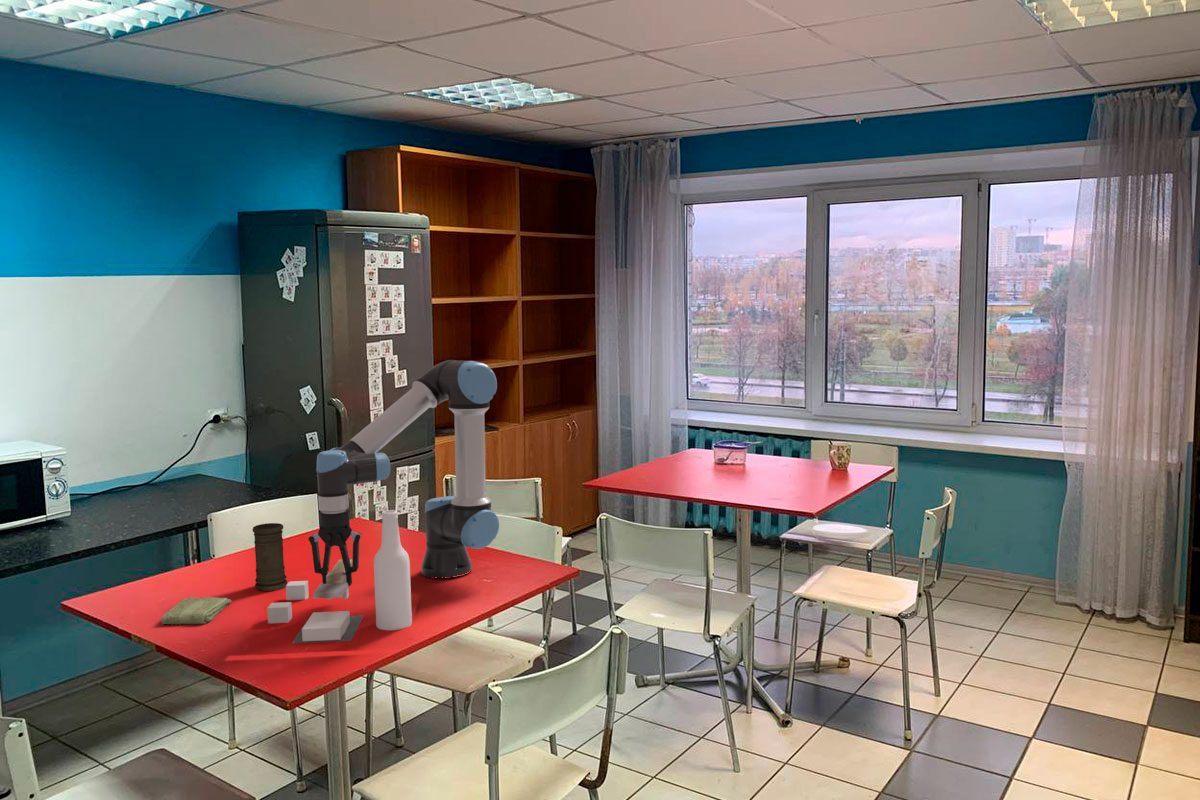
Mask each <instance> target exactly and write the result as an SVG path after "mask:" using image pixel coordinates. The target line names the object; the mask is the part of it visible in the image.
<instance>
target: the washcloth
mask: <svg viewBox="0 0 1200 800" xmlns="http://www.w3.org/2000/svg"><path fill="white" fill-rule="evenodd" d="M231 603H232V599H229V598H227V597H215V596H204V597H194V596H189V597H186V598H184V599H182V600H180V601H179V602H178V603H177V604H176V605H174V606H173V607H172V608H171V609H169V610H167V611H166V612H165V613H164V614H163V615H162V616H161V619H160V622H161V624H162V625H164V624H171V625H174V624H175V625H177V624H179V625H178V626H180V625H206V624H208V623H209V622H212V621H213V620H214V619H215V618H216V617H217V616H218V615H219V613H221V611H223V610H224V609H225V608H226V607H228V605H229V604H231ZM217 614H218V615H217ZM216 615H217V616H216ZM207 622H208V623H207Z"/></svg>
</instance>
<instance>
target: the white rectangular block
mask: <svg viewBox="0 0 1200 800" xmlns="http://www.w3.org/2000/svg"><path fill="white" fill-rule="evenodd" d="M350 616H351V615H350V610H339V611H322V612H321V611H317V612H315V611H314V612H312V613H311V615H310V617H308V618H309V619H308V618H307V620H308V621H307V620H306V621H307V622H305V623H306V624H305V623H304V624H305V625H304V624H303V626H304V627H303V626H302V627H303V628H302V627H301V629H302V641H304V642H310V641H333V640H341V638H342V636H343V634H344V633H345V631H346V629H347V627H348V625H349V623H350Z"/></svg>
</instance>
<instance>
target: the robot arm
mask: <svg viewBox="0 0 1200 800" xmlns="http://www.w3.org/2000/svg"><path fill="white" fill-rule="evenodd" d="M411 385H412V386H411V389H409V390H408V391H407V392H405V393H404V394H403V395H402V396H401V397H399V399H397V400H396V401H395V402H393V403H392V405H390V406H389V407H388V408H387V409H386V410H384V411H383V412H382V413H381V414H379V415H378V416H377V417H376V418H374V419H373V420H372V421H371V422H370V423H369V424H368V425H366V426H365V427H363V429H361V430H360V431H359V432H358V433H357V434H356V435H355V436H353V437H352V438H351V439H349V440H348V441H347V442H346V443H345V444H343V445H342V446H340V447H332V448H331V449H329V450H325V451H324V450H323V451H321V452H319V453H318V454H317V456H316V469H315V471H316V476H317V477H316V478H317V480H316V481H317V493H318V494H317V498H318V502H317V503H318V511H320V512H318V521H319V522H318V523H319V529H318V531H317V533H315V534H310V535H309V536H308V541H309V543H310V545H311V553H312V561H313V570H314V573H315V574H320V575H321V576H322V577H321V578H322V584H327V576H328V575H329V573H330V572H329V568H330V561H331V554H332V548H333V547H338V550H339V551H340V555H341V560H343V564H344V568H345V573H344V574H343V583H348V587H351V586H352V583H353V575H352V574H353V573H355V572H357V571H358V570H359V567H360V540H361V539H362V537H363V536H362V533H361V532H355V531H352V530H353V529H352V527H351V526H350V525H351V523H350V511H349V508H350V507H349V506H350V505H349V503H350V501H349V486H355V485H360V484H361V485H362V484H367V483H374V482H375V483H377V482H379V481H380V482H381V481H384V480H387V478H389V476H390V474H391V470H392V469H391V461H390V458H389V457H388V455H387V454H386V453H384V452H379V451H380V450H381V449H383V448H384V447H385V446H386V445H387V444H389V442H391V441H392V440H393V439H394V438H395V437H397V436H398V435H399V434H400V433H401V432H402V431H404V430H405V429H406V428H407V427H409V426H410V425H411V424H412V423H413V422H414V421H415V420H417V419H418V418H419V417H420V416H421V415H422V414H424V413H425V412H426V411H427V410H428V409H429V408H431V409H435V408H436V407H437V406H438V405H440V404H441V403H443V402H445V401H448V409H449V410H450V411H451V412H452V413H453V415H454V453H455V454H454V459H455V460H454V462H455V463H454V464H455V495H448V496H447V495H446V496H440V497H435V498H429V499H428V500H426V502H425V505H424V517H425V518H424V520H425V545H426V547H425V548H426V550H425V551H424V556H423V559H422V563H421V569H420V571H421V575H422V574H423V575H425V576H428V577H427V578H429V577H434V578H433V579H435V577H437V578H442V577H443V578H445V577H453V576H457V575H462V574H465V573H467V572H469V571H470V570H471V569H472V567H473V566H472V560H471V558H470V555H469V552H468V550H467V548H469V549H475V550H479V549H480V550H481V549H484V548H486V547H488V546H490V544H492V542H493V541H494V540H495V539H496V538H497V535H498V534H499V531H500V530H499V529H500V520H499V517H498V515H496V513H495V512H494V511H492V499H491V498H490V497H489V496H487V491H486V486H487V483H486V441H485V440H486V438H485V436H486V435H485V431H486V430H485V425H486V424H485V414H486V412H487V411H488V410H489V409H490V401H491V400H493V398H494V395H496V392H497V389H498V382H497V377H496V374H495V372H494V371H493V369H491V368H490V366H489V365H487V364H485V363H483V362H480V361H475V360H457V359H448V360H445V361H442V362H439V363H438V364H436V365H434V366H433V367H431V368H430V369H429V370H427V371H426V372H424V373H423V374H422V375H421V376H420V377H419V376H418V378H417V379H416V380H415V381H413V383H412V384H411ZM350 537H351V542H353V543H352V567H351V564H350V556H349V551H348V547H347V546H348V545H347V541H348V539H349V538H350ZM320 539H321V541H323V543H324V554H323V559H322V560H323V561H322V563H321V555H320V545H319V541H320ZM472 570H473V569H472ZM423 575H422V576H423ZM425 576H424V577H425ZM349 596H350V594H349V588H348V589H347V590H346V592H345V593H344V595H343V600H348V598H349ZM331 600H332V598H326V601H331Z"/></svg>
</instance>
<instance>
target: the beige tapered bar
mask: <svg viewBox="0 0 1200 800" xmlns="http://www.w3.org/2000/svg"><path fill="white" fill-rule="evenodd" d="M349 559H350V558H349ZM352 563H353V558H352V559H350V564H351V567H352ZM328 573H329V575H328V576H327V584H323V583H320V584H319V585H318V586H317V588H316V589H315V591H314V592H313V594H312V595H313V596H312V598H313V599H327V598H331V599H333V598H334V599H335V598H337V599H338V598H344V593H345V592H346V590H347V589H348V590H349V586H348V583H343V574H344V573H345V568H344V564H343V560H342V559H338V560H337V562H336V564H335V565H334V566H333V568H332V569H331V571H330V572H328Z"/></svg>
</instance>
